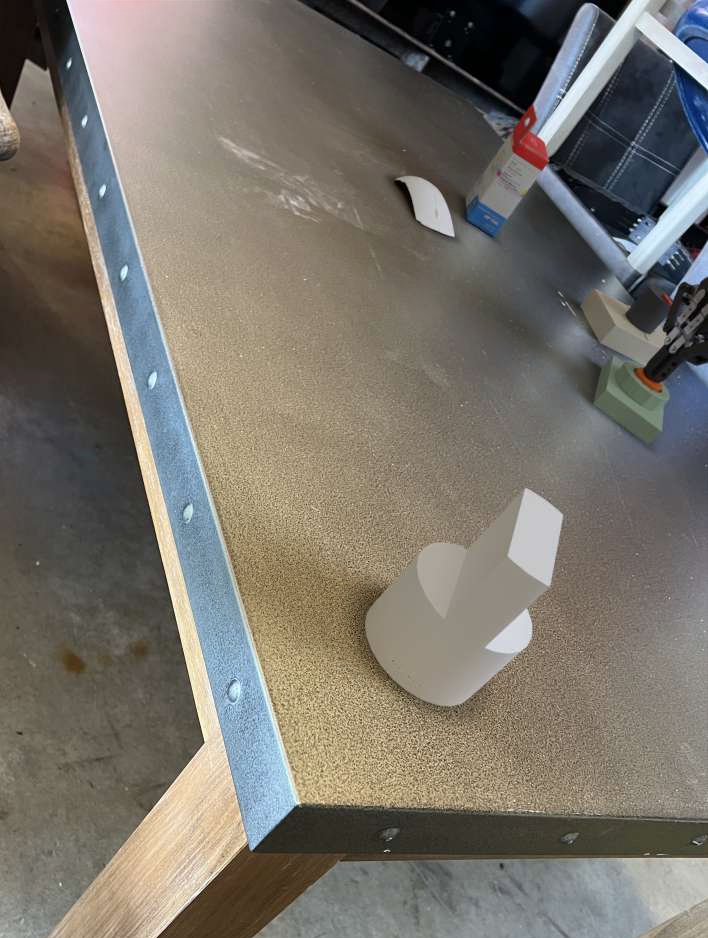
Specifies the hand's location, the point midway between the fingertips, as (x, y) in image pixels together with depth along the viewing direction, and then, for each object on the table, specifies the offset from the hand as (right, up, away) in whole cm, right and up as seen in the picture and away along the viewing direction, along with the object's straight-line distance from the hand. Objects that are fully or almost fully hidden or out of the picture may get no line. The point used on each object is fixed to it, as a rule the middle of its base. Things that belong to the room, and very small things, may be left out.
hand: (650, 377), depth 113 cm
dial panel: (+4, +9, +19) cm, 21 cm away
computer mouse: (-24, +25, +13) cm, 37 cm away
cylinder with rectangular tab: (-35, -30, -47) cm, 66 cm away
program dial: (+5, +11, +17) cm, 21 cm away
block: (-2, -3, +3) cm, 4 cm away
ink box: (-15, +27, +22) cm, 38 cm away
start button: (-1, -1, +1) cm, 2 cm away
